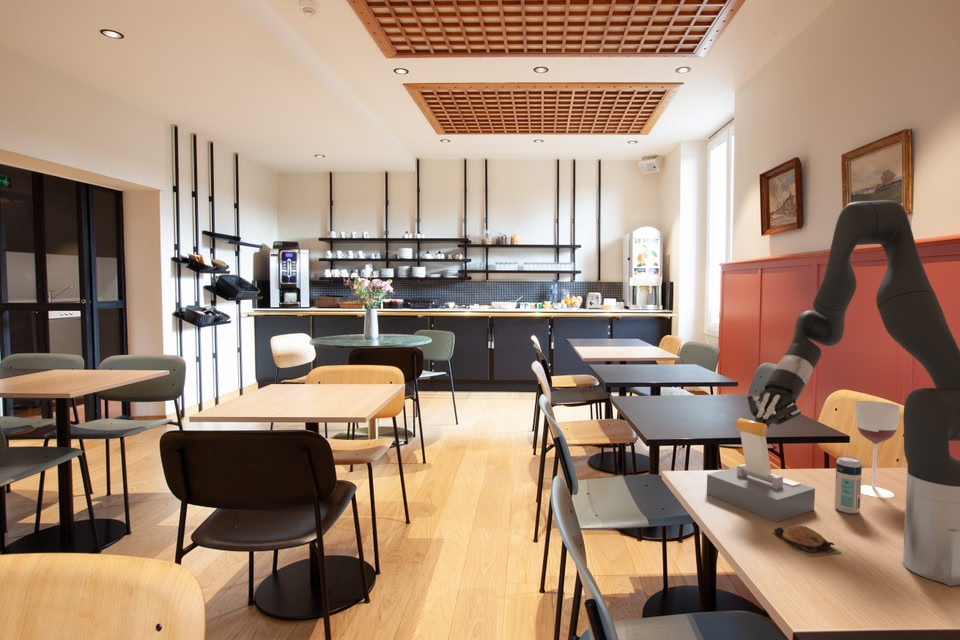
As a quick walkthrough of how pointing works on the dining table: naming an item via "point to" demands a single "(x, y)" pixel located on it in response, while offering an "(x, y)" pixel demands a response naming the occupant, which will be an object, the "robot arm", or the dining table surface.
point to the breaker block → (761, 493)
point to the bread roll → (806, 541)
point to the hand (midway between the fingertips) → (756, 433)
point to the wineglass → (876, 434)
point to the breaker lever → (755, 449)
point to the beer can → (848, 485)
